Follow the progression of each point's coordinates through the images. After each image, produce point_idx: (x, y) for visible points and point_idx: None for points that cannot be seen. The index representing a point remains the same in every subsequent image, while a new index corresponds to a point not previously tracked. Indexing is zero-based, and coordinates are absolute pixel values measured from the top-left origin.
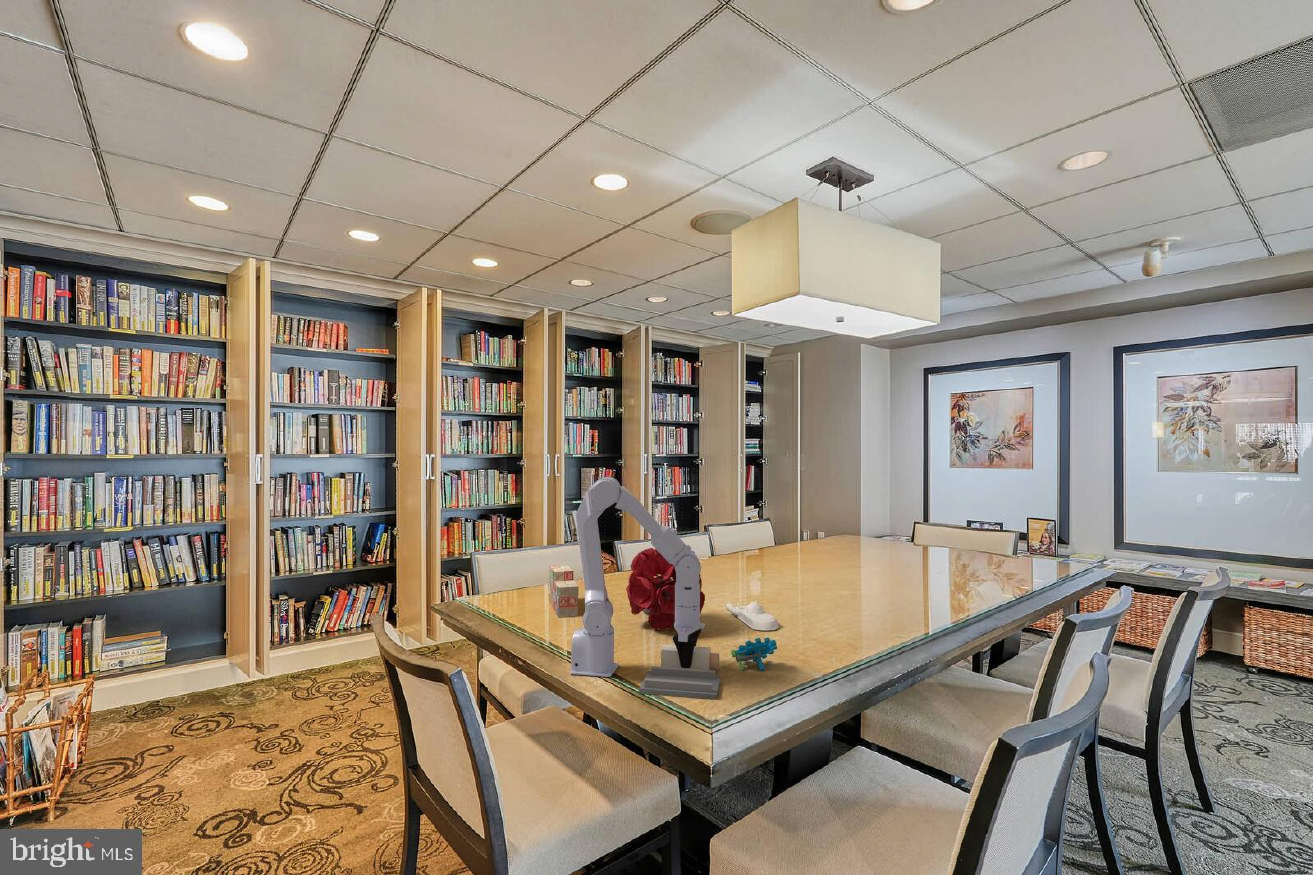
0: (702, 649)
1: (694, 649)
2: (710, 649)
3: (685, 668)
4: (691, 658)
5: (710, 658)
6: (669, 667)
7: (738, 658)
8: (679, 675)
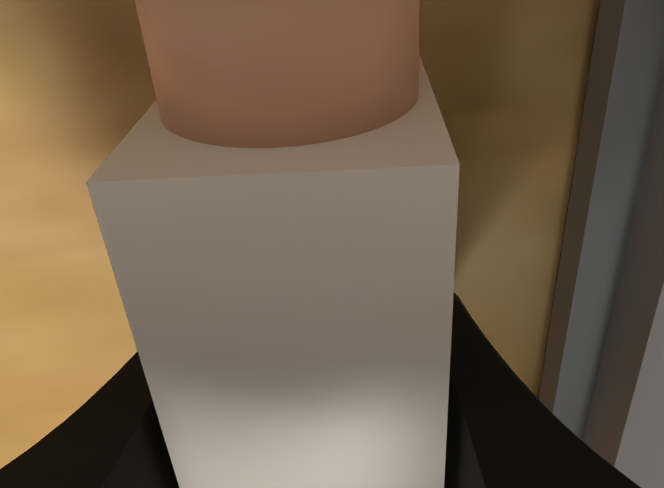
0: (278, 304)
1: (317, 408)
2: (176, 170)
3: (652, 349)
4: (504, 363)
5: (394, 101)
6: None
7: None
8: None
